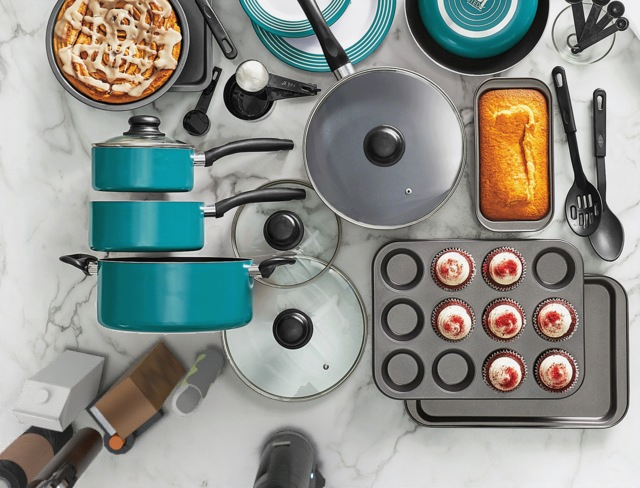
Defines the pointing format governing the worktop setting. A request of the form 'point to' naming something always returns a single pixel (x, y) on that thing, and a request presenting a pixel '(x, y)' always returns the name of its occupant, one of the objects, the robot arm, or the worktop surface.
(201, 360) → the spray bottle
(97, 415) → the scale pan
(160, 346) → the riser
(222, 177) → the worktop surface
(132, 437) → the scale
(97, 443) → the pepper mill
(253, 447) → the worktop surface
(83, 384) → the milk carton
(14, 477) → the travel mug
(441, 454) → the worktop surface
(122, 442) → the button
